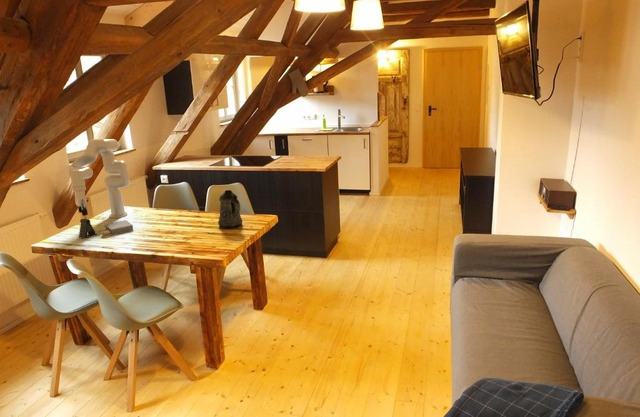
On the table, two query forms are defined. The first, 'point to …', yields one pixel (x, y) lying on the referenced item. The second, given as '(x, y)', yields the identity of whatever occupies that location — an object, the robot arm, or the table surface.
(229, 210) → the dark grey upright piece
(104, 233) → the walnut offcut
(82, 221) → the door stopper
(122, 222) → the stand
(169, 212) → the table surface
